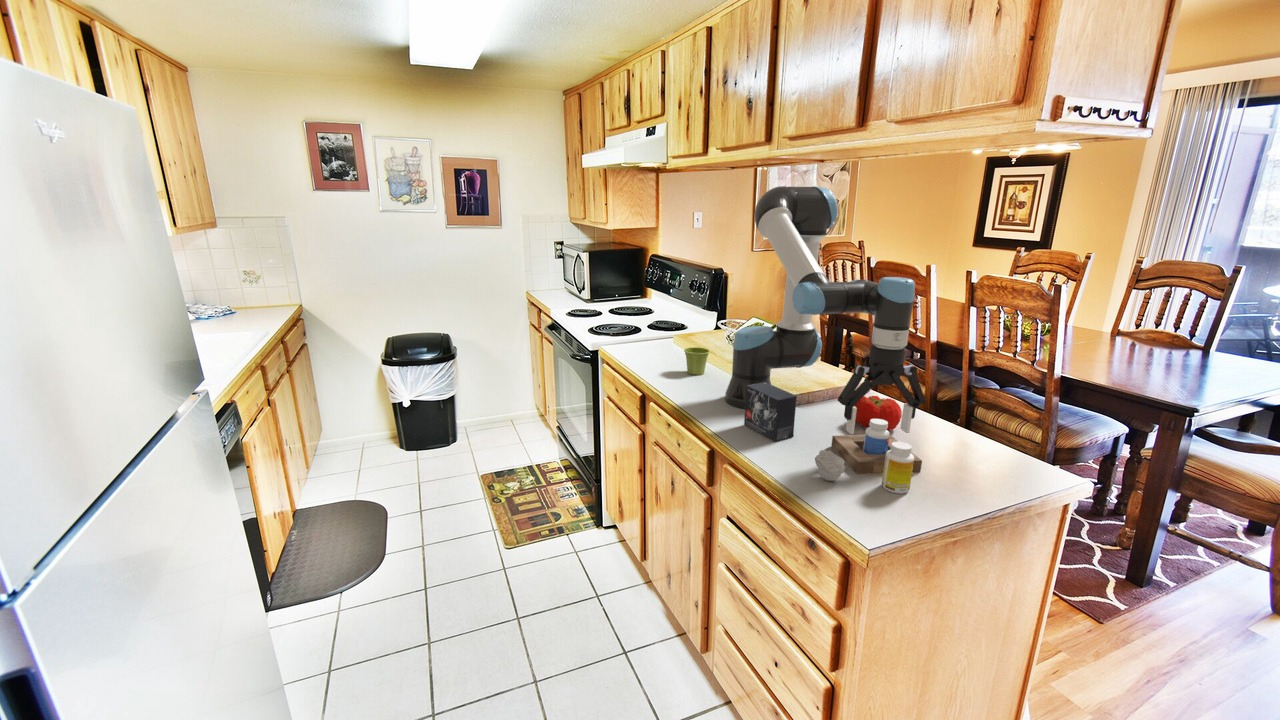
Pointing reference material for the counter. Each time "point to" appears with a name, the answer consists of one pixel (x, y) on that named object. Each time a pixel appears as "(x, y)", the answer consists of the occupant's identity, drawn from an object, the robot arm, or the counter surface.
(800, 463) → the counter surface
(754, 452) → the counter surface
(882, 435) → the pill bottle
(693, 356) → the plant pot
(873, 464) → the walnut holder block
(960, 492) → the counter surface
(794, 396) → the small box
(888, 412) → the tomato
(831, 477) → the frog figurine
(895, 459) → the supplement bottle
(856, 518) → the counter surface
